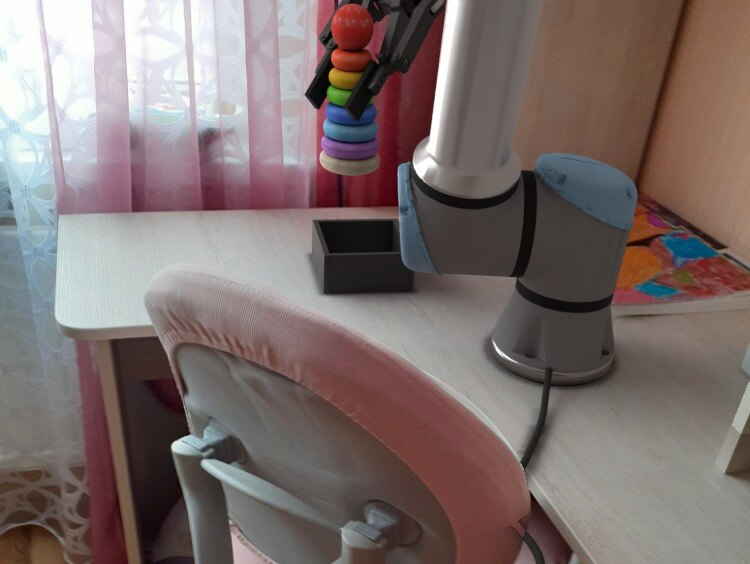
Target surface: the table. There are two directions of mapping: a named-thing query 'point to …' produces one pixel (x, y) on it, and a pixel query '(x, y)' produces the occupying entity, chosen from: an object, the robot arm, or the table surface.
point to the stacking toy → (343, 135)
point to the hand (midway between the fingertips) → (331, 108)
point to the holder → (359, 256)
